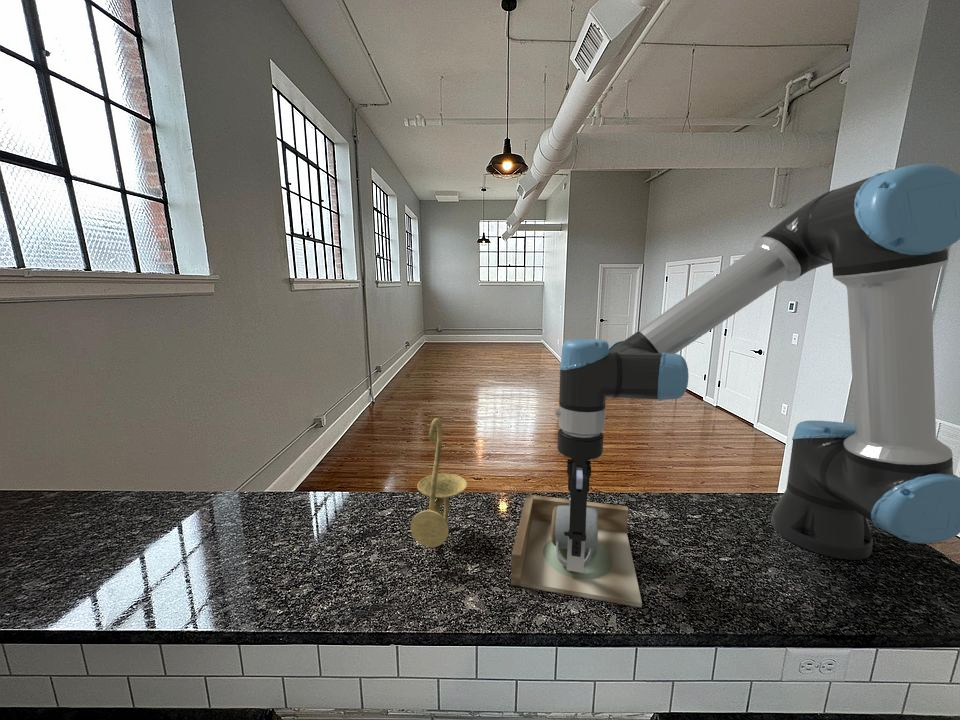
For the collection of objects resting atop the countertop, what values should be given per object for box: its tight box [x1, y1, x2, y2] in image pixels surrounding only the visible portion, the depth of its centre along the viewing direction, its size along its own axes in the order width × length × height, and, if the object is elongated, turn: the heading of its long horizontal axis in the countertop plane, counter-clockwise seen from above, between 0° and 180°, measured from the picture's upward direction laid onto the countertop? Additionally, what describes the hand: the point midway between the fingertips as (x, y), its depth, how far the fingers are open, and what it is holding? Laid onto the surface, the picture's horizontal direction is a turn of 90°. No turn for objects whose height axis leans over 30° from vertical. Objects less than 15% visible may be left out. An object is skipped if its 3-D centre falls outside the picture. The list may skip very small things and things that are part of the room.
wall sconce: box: [410, 417, 468, 548], centre depth 74 cm, size 14×10×25 cm
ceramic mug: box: [551, 505, 598, 568], centre depth 70 cm, size 11×8×8 cm
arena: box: [510, 493, 643, 608], centre depth 71 cm, size 20×20×6 cm
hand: (575, 549), depth 70 cm, fingers closed on ceramic mug, 10 cm apart
